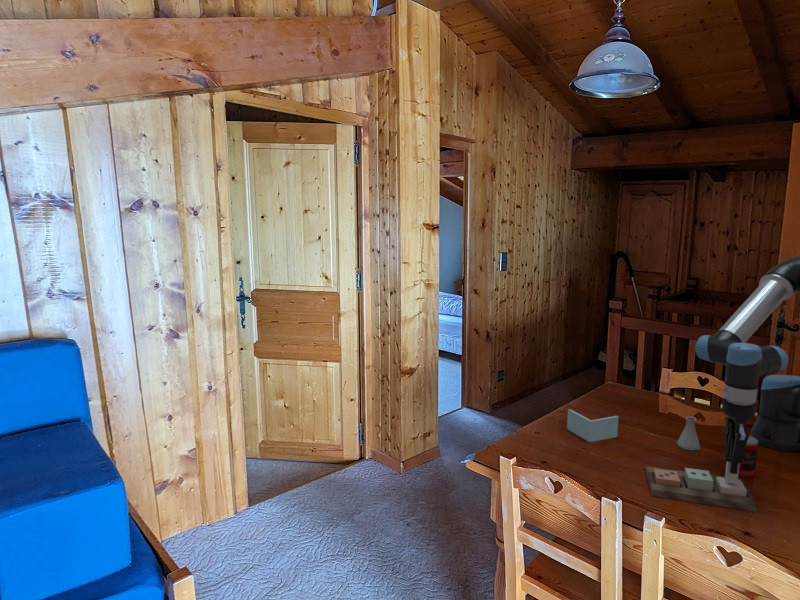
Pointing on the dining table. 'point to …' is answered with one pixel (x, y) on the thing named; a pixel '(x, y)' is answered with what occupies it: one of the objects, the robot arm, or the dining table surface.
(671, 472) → the tile three
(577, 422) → the right angle wall
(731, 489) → the tile one
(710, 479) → the tile two
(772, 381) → the robot arm
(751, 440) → the canned food
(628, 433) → the dining table surface
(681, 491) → the button board
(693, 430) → the flask
